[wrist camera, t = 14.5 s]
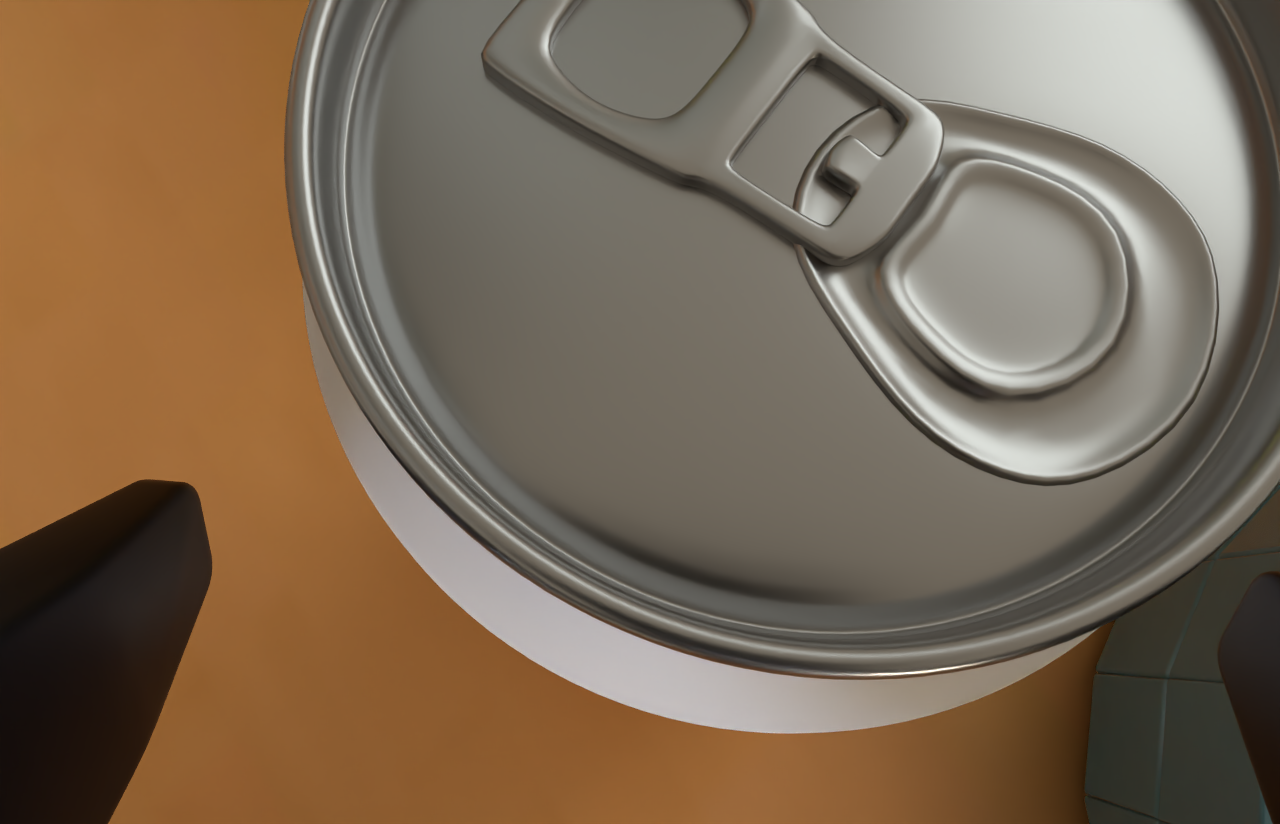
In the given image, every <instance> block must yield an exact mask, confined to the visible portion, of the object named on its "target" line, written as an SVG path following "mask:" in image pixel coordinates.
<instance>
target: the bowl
mask: <svg viewBox="0 0 1280 824" xmlns="http://www.w3.org/2000/svg"><path fill="white" fill-rule="evenodd" d="M1269 571H1277V572H1280V483H1279V484H1278V486H1277V487H1276V488H1275V489H1274V491H1273V492H1272V493H1271V495H1270V496H1269V497H1268V498H1267V499H1266V501H1265V502H1264V503H1263V504H1262V505H1261V506H1260V507H1259V509H1258V510H1257V511H1256V512H1255V513H1254V514H1253V515H1252V517H1251V518H1250V519H1249V520H1248V521H1247V522H1246V523H1245V524H1244V525H1243V526H1242V527H1241V528H1240V529H1239V530H1238V531H1237V532H1236V533H1235V534H1234V535H1233V536H1232V537H1231V538H1230V539H1229V540H1228V541H1227V542H1225V543H1224V544H1223V545H1222V546H1221V547H1220V548H1219V549H1218V550H1217V551H1216V552H1214V553H1213V554H1212V555H1211V556H1210V557H1209V558H1207V559H1206V560H1205V561H1204V562H1202V563H1201V564H1200V565H1199V566H1197V567H1196V568H1195V569H1194V570H1192V571H1191V572H1190V573H1189V574H1187V575H1186V576H1184V577H1183V578H1182V579H1180V580H1179V581H1177V582H1176V583H1175V584H1173V585H1172V586H1171V587H1169V588H1168V589H1166V590H1165V591H1163V592H1161V593H1160V594H1158V595H1157V596H1155V597H1154V598H1152V599H1150V600H1149V601H1147V602H1146V603H1144V604H1142V605H1141V606H1139V607H1137V608H1135V609H1134V610H1132V611H1130V612H1128V613H1126V614H1125V615H1123V616H1121V617H1119V618H1117V619H1116V620H1115V623H1114V625H1113V628H1112V630H1111V632H1110V635H1109V637H1108V639H1107V642H1106V644H1105V646H1104V649H1103V651H1102V653H1101V656H1100V658H1099V660H1098V663H1097V665H1096V671H1097V672H1098V673H1096V674H1095V675H1094V677H1093V689H1092V701H1091V714H1090V726H1089V738H1088V750H1087V762H1086V774H1085V786H1084V790H1085V793H1086V794H1087V796H1085V798H1084V801H1085V805H1086V810H1087V815H1088V820H1089V824H1273V823H1272V821H1271V818H1270V815H1269V813H1268V810H1267V807H1266V804H1265V801H1264V798H1263V796H1262V793H1261V790H1260V787H1259V784H1258V781H1257V778H1256V775H1255V772H1254V769H1253V766H1252V763H1251V761H1250V758H1249V755H1248V752H1247V749H1246V746H1245V743H1244V740H1243V737H1242V734H1241V731H1240V729H1239V726H1238V723H1237V720H1236V717H1235V714H1234V711H1233V708H1232V705H1231V702H1230V699H1229V696H1228V694H1227V691H1226V688H1225V685H1224V682H1223V679H1222V676H1221V673H1220V670H1219V665H1218V657H1217V656H1218V646H1219V641H1220V639H1221V636H1222V634H1223V633H1224V631H1225V629H1226V627H1227V625H1228V623H1229V622H1230V620H1231V618H1232V616H1233V614H1234V612H1235V611H1236V609H1237V607H1238V605H1239V603H1240V601H1241V600H1242V598H1243V596H1244V594H1245V592H1246V591H1247V589H1248V587H1249V585H1250V584H1251V582H1252V581H1253V579H1255V578H1256V577H1257V576H1259V575H1260V574H1261V573H1265V572H1269Z"/></svg>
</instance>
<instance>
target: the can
mask: <svg viewBox="0 0 1280 824" xmlns="http://www.w3.org/2000/svg"><path fill="white" fill-rule="evenodd" d="M284 162H285V183H286V193H287V203H288V212H289V218H290V224H291V231H292V237H293V241H294V246H295V251H296V255H297V260H298V264H299V268H300V271H301V275H302V280H303V299H304V308H305V318H306V325H307V331H308V338H309V344H310V349H311V353H312V358H313V363H314V367H315V371H316V374H317V378H318V382H319V385H320V389H321V392H322V395H323V398H324V401H325V404H326V407H327V410H328V413H329V416H330V418H331V421H332V423H333V426H334V429H335V431H336V434H337V436H338V438H339V440H340V442H341V445H342V447H343V449H344V451H345V454H346V456H347V458H348V460H349V462H350V464H351V465H352V467H353V469H354V471H355V473H356V475H357V477H358V479H359V480H360V482H361V484H362V486H363V487H364V489H365V491H366V492H367V494H368V496H369V498H370V499H371V501H372V502H373V504H374V505H375V507H376V508H377V510H378V511H379V513H380V514H381V516H382V517H383V519H384V520H385V522H386V523H387V524H388V526H389V527H390V528H391V530H392V531H393V533H394V534H395V535H396V537H397V538H398V539H399V541H400V542H401V543H402V544H403V546H404V547H405V548H406V549H407V550H408V552H409V553H410V554H411V555H412V557H413V558H414V559H415V560H416V562H417V563H418V564H419V565H420V566H421V567H422V568H423V569H424V571H425V572H426V573H427V574H428V575H429V576H430V577H431V578H432V579H433V581H434V582H435V583H436V584H437V585H438V586H439V587H440V588H441V589H442V590H443V591H444V592H445V593H446V594H447V595H448V596H449V597H450V598H451V599H453V600H454V601H455V602H456V603H457V604H458V605H459V606H460V607H461V608H463V609H464V610H465V611H466V612H467V613H468V614H469V615H470V616H472V617H473V618H474V619H475V620H476V621H478V622H479V623H480V624H481V625H483V626H484V627H485V628H486V629H488V630H489V631H490V632H491V633H493V634H494V635H496V636H497V637H498V638H500V639H501V640H502V641H504V642H505V643H507V644H508V645H509V646H511V647H512V648H514V649H515V650H517V651H518V652H520V653H521V654H523V655H525V656H526V657H528V658H529V659H531V660H532V661H534V662H536V663H538V664H539V665H541V666H543V667H544V668H546V669H548V670H549V671H551V672H553V673H555V674H557V675H559V676H561V677H563V678H565V679H567V680H568V681H570V682H572V683H574V684H576V685H579V686H581V687H583V688H585V689H587V690H590V691H592V692H594V693H596V694H599V695H601V696H604V697H606V698H609V699H611V700H614V701H616V702H619V703H622V704H624V705H627V706H630V707H633V708H636V709H639V710H642V711H645V712H649V713H652V714H656V715H659V716H663V717H667V718H670V719H675V720H679V721H684V722H688V723H692V724H698V725H703V726H709V727H715V728H721V729H730V730H738V731H747V732H762V733H822V732H837V731H849V730H858V729H865V728H873V727H880V726H885V725H890V724H895V723H901V722H906V721H910V720H914V719H918V718H922V717H926V716H930V715H933V714H936V713H939V712H943V711H946V710H949V709H953V708H956V707H958V706H961V705H964V704H966V703H969V702H972V701H975V700H977V699H980V698H982V697H984V696H987V695H989V694H991V693H994V692H996V691H998V690H1001V689H1003V688H1005V687H1007V686H1009V685H1011V684H1013V683H1015V682H1017V681H1019V680H1021V679H1023V678H1025V677H1027V676H1028V675H1030V674H1032V673H1034V672H1036V671H1037V670H1039V669H1041V668H1043V667H1044V666H1046V665H1048V664H1049V663H1051V662H1052V661H1054V660H1055V659H1057V658H1059V657H1060V656H1062V655H1063V654H1065V653H1066V652H1068V651H1069V650H1070V649H1072V648H1073V647H1075V646H1076V645H1077V644H1079V643H1080V642H1082V641H1083V640H1084V639H1086V638H1087V637H1088V636H1089V635H1091V634H1092V633H1093V632H1094V631H1096V630H1097V629H1098V628H1099V627H1101V626H1103V625H1105V624H1107V623H1109V622H1111V621H1113V620H1115V619H1117V618H1119V617H1121V616H1123V615H1125V614H1126V613H1128V612H1130V611H1132V610H1134V609H1135V608H1137V607H1139V606H1141V605H1142V604H1144V603H1146V602H1147V601H1149V600H1150V599H1152V598H1154V597H1155V596H1157V595H1158V594H1160V593H1161V592H1163V591H1165V590H1166V589H1168V588H1169V587H1171V586H1172V585H1173V584H1175V583H1176V582H1177V581H1179V580H1180V579H1182V578H1183V577H1184V576H1186V575H1187V574H1189V573H1190V572H1191V571H1192V570H1194V569H1195V568H1196V567H1197V566H1199V565H1200V564H1201V563H1202V562H1204V561H1205V560H1206V559H1207V558H1209V557H1210V556H1211V555H1212V554H1213V553H1214V552H1216V551H1217V550H1218V549H1219V548H1220V547H1221V546H1222V545H1223V544H1224V543H1225V542H1227V541H1228V540H1229V539H1230V538H1231V537H1232V536H1233V535H1234V534H1235V533H1236V532H1237V531H1238V530H1239V529H1240V528H1241V527H1242V526H1243V525H1244V524H1245V523H1246V522H1247V521H1248V520H1249V519H1250V518H1251V517H1252V515H1253V514H1254V513H1255V512H1256V511H1257V510H1258V509H1259V507H1260V506H1261V505H1262V504H1263V503H1264V502H1265V501H1266V499H1267V498H1268V497H1269V496H1270V495H1271V493H1272V492H1273V491H1274V489H1275V488H1276V487H1277V486H1278V484H1279V483H1280V0H310V2H309V5H308V8H307V11H306V14H305V17H304V20H303V24H302V27H301V31H300V34H299V38H298V42H297V47H296V51H295V55H294V60H293V65H292V70H291V76H290V82H289V89H288V98H287V106H286V119H285V140H284Z"/></svg>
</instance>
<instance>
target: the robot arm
mask: <svg viewBox="0 0 1280 824" xmlns="http://www.w3.org/2000/svg"><path fill="white" fill-rule="evenodd" d="M211 575H212V556H211V551H210V546H209V541H208V536H207V531H206V527H205V522H204V517H203V512H202V507H201V502H200V499H199V496H198V493H197V491H196V490H195V488H194V487H193V486H191V485H190V484H188V483H185V482H175V481H163V480H139V481H137V482H134V483H132V484H130V485H128V486H126V487H124V488H122V489H120V490H118V491H116V492H114V493H112V494H110V495H108V496H106V497H104V498H102V499H100V500H98V501H96V502H94V503H92V504H90V505H88V506H86V507H84V508H82V509H80V510H78V511H76V512H74V513H72V514H70V515H68V516H66V517H64V518H62V519H60V520H58V521H56V522H54V523H52V524H50V525H48V526H46V527H44V528H42V529H40V530H38V531H36V532H34V533H32V534H30V535H28V536H26V537H23V538H21V539H19V540H17V541H15V542H13V543H11V544H9V545H7V546H5V547H3V548H1V549H0V824H108V822H109V821H110V819H111V817H112V815H113V813H114V811H115V809H116V807H117V805H118V803H119V801H120V799H121V797H122V795H123V793H124V792H125V790H126V788H127V786H128V784H129V782H130V780H131V778H132V776H133V774H134V772H135V770H136V768H137V766H138V764H139V762H140V760H141V758H142V755H143V753H144V751H145V749H146V747H147V745H148V742H149V740H150V738H151V735H152V733H153V730H154V728H155V726H156V723H157V721H158V718H159V716H160V713H161V710H162V708H163V705H164V703H165V700H166V697H167V695H168V692H169V690H170V687H171V684H172V682H173V679H174V677H175V674H176V671H177V669H178V666H179V663H180V661H181V658H182V656H183V653H184V650H185V648H186V645H187V643H188V640H189V637H190V635H191V632H192V629H193V627H194V624H195V622H196V619H197V616H198V614H199V611H200V609H201V606H202V603H203V601H204V598H205V596H206V593H207V590H208V587H209V584H210V580H211ZM1217 657H1218V665H1219V670H1220V673H1221V676H1222V679H1223V682H1224V685H1225V688H1226V691H1227V694H1228V696H1229V699H1230V702H1231V705H1232V708H1233V711H1234V714H1235V717H1236V720H1237V723H1238V726H1239V729H1240V731H1241V734H1242V737H1243V740H1244V743H1245V746H1246V749H1247V752H1248V755H1249V758H1250V761H1251V763H1252V766H1253V769H1254V772H1255V775H1256V778H1257V781H1258V784H1259V787H1260V790H1261V793H1262V796H1263V798H1264V801H1265V804H1266V807H1267V810H1268V813H1269V815H1270V818H1271V821H1272V823H1273V824H1280V572H1277V571H1269V572H1265V573H1261V574H1260V575H1259V576H1257V577H1256V578H1255V579H1253V581H1252V582H1251V584H1250V585H1249V587H1248V589H1247V591H1246V592H1245V594H1244V596H1243V598H1242V600H1241V601H1240V603H1239V605H1238V607H1237V609H1236V611H1235V612H1234V614H1233V616H1232V618H1231V620H1230V622H1229V623H1228V625H1227V627H1226V629H1225V631H1224V633H1223V634H1222V636H1221V639H1220V641H1219V646H1218V656H1217Z"/></svg>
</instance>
